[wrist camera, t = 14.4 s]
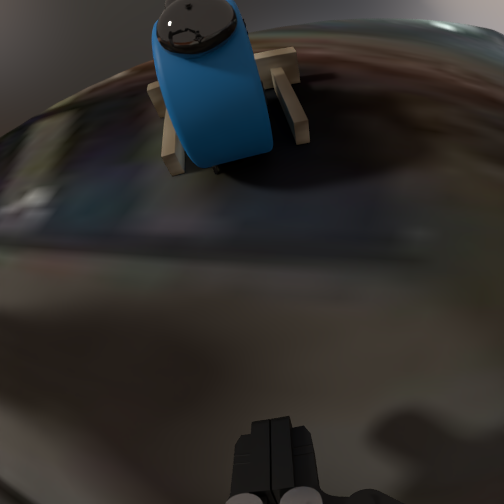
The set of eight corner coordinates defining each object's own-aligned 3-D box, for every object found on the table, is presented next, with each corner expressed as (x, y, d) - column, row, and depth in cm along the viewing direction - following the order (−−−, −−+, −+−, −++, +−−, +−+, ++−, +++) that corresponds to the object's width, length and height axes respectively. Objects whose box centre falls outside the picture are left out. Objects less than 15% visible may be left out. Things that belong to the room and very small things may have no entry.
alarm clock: (201, 112, 32) (153, -12, 19) (257, 98, 31) (224, -32, 18) (208, 204, 25) (125, 31, 12) (285, 185, 24) (246, -7, 12)
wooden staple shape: (153, 181, 28) (134, 151, 24) (161, 111, 34) (148, 84, 30) (329, 138, 26) (328, 101, 23) (296, 76, 32) (292, 46, 29)
